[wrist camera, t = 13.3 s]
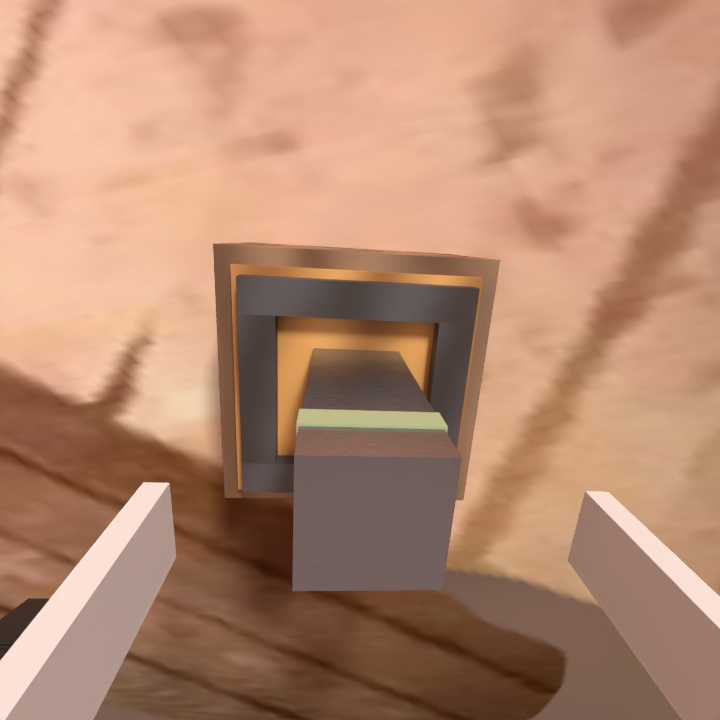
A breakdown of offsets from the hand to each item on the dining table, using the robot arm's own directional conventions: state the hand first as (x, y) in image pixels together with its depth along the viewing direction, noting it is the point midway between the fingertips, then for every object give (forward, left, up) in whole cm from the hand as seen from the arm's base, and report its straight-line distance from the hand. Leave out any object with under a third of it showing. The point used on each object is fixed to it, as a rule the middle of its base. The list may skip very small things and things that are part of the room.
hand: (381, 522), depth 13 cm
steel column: (0, 0, -12) cm, 12 cm away
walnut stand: (0, 0, -22) cm, 22 cm away
